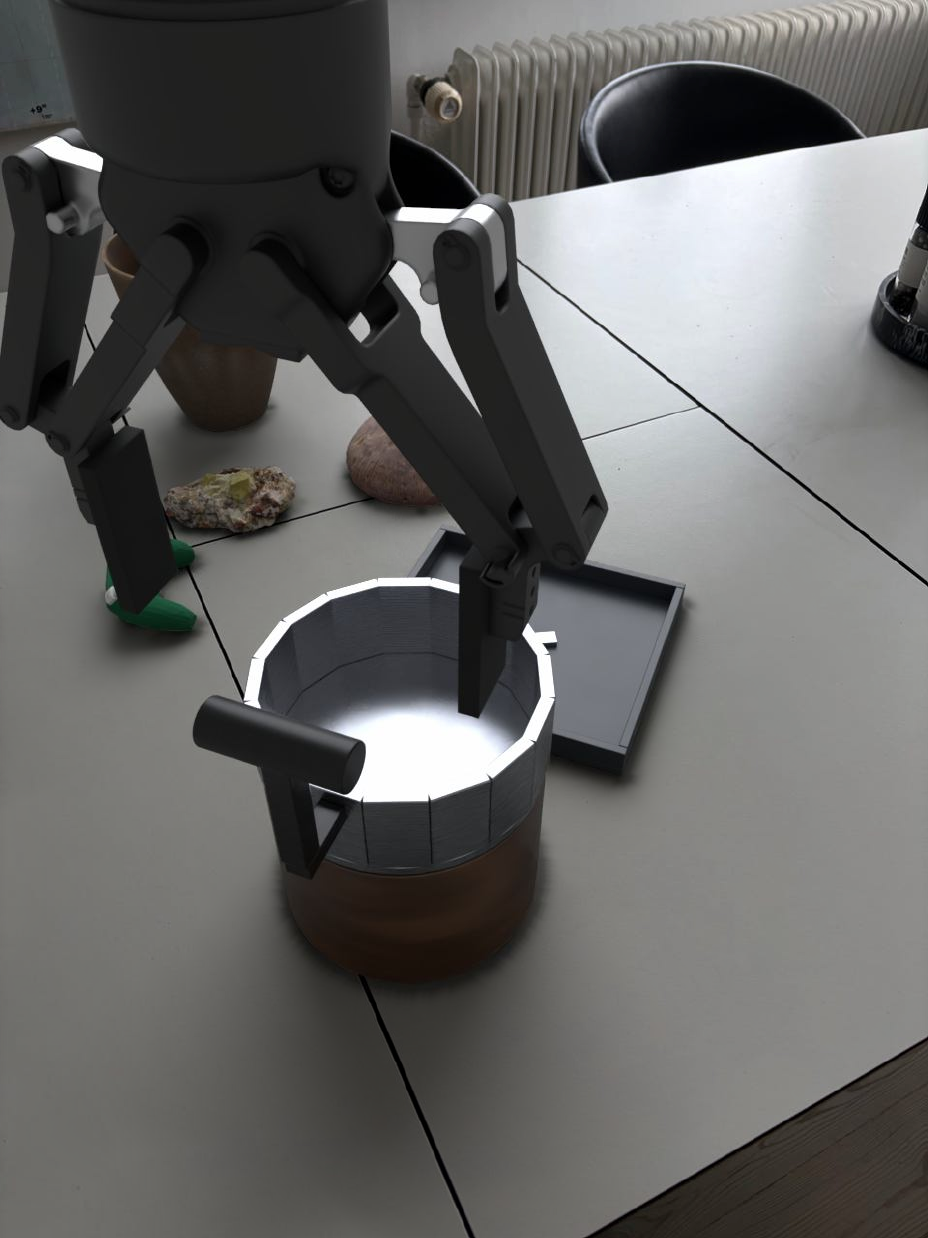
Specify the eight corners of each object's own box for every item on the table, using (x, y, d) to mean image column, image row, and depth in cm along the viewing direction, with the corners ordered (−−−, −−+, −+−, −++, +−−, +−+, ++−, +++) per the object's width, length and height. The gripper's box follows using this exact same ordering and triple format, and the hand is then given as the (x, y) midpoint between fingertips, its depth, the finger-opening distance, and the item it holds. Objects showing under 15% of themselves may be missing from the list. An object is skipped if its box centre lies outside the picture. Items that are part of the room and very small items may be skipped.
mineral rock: (288, 444, 86) (294, 474, 79) (297, 492, 88) (304, 525, 81) (160, 464, 84) (155, 496, 77) (172, 513, 86) (168, 548, 79)
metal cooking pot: (341, 625, 58) (319, 435, 49) (582, 693, 54) (605, 500, 45) (160, 883, 45) (88, 690, 37) (456, 994, 42) (454, 808, 33)
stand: (354, 740, 65) (341, 628, 58) (568, 808, 61) (581, 695, 54) (237, 929, 55) (206, 820, 48) (484, 1023, 51) (488, 919, 44)
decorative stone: (465, 521, 82) (465, 465, 78) (327, 497, 84) (321, 441, 80) (500, 443, 90) (502, 389, 86) (374, 423, 92) (370, 369, 89)
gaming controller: (170, 576, 79) (101, 541, 76) (199, 544, 78) (130, 508, 74) (170, 657, 73) (95, 623, 69) (201, 624, 71) (126, 588, 68)
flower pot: (156, 469, 87) (113, 294, 76) (132, 387, 97) (91, 221, 86) (324, 435, 91) (305, 264, 80) (284, 360, 101) (263, 198, 90)
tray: (442, 543, 80) (442, 523, 78) (681, 604, 74) (686, 583, 73) (345, 692, 68) (343, 671, 66) (622, 775, 63) (625, 755, 61)
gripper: (814, -34, 21) (666, 660, 36) (-101, -114, 28) (87, 502, 43) (755, 55, 16) (611, 822, 31) (-348, -68, 23) (-38, 614, 37)
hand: (308, 638), depth 37 cm, fingers open, 13 cm apart
